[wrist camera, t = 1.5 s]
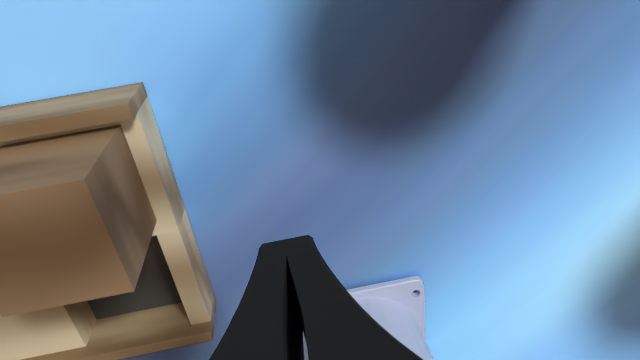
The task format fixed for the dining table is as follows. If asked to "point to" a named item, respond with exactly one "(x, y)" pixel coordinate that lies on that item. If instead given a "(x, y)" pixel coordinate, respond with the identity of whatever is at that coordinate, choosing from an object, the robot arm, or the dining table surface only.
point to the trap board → (160, 261)
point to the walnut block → (70, 220)
